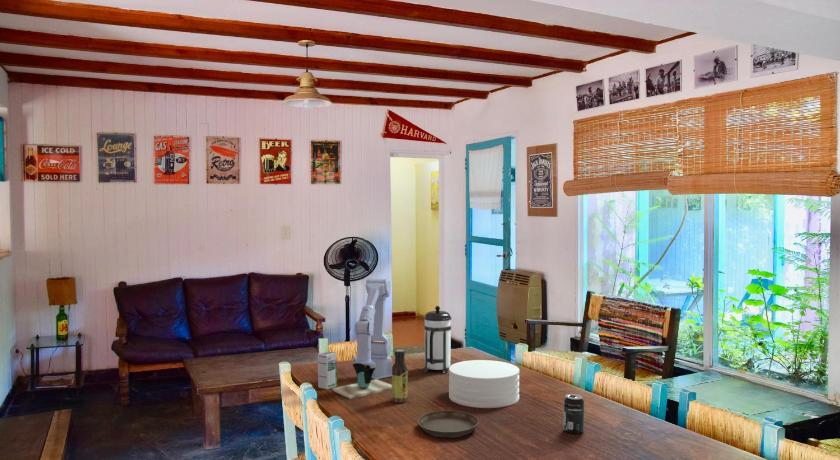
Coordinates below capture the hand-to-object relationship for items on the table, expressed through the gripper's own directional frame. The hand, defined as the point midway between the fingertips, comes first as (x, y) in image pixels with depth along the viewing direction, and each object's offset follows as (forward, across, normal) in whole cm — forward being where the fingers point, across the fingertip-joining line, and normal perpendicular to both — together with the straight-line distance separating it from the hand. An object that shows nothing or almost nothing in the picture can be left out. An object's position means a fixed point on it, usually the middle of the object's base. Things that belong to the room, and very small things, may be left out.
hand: (364, 381), depth 258 cm
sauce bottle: (+3, +21, +3) cm, 22 cm away
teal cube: (+1, 0, 0) cm, 1 cm away
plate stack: (+4, +37, +33) cm, 50 cm away
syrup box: (+3, -13, -10) cm, 17 cm away
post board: (+3, 0, 0) cm, 3 cm away
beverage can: (+3, +84, +30) cm, 89 cm away
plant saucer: (+4, +56, -2) cm, 56 cm away
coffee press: (+3, -4, +43) cm, 43 cm away
